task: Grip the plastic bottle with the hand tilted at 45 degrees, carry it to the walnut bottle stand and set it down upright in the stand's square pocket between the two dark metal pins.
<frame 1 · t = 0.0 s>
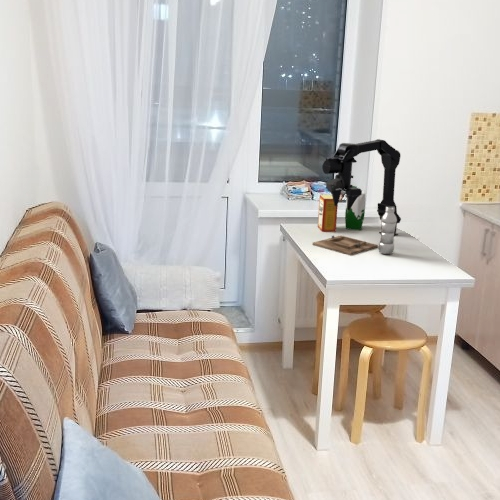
hand: (342, 208, 290), 15 cm above the table, tool pointing down, fingers open, 9 cm apart
walnut bottle stand: (345, 246, 285), on the table
plastic bottle: (385, 254, 276), on the table
baking soda box: (326, 229, 313), on the table
milk carton: (353, 228, 318), on the table
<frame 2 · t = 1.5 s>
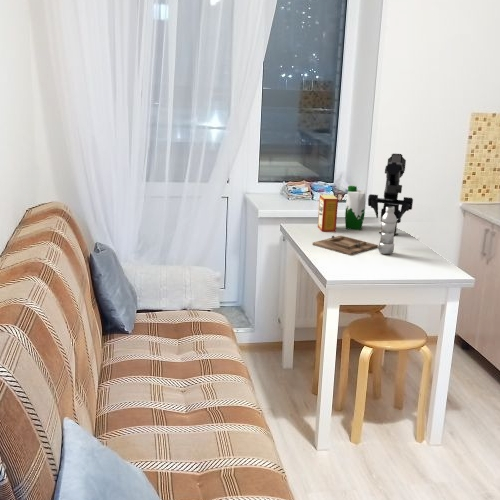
hand: (388, 218, 280), 13 cm above the table, tool tilted 45°, fingers open, 9 cm apart
nothing on the table moved.
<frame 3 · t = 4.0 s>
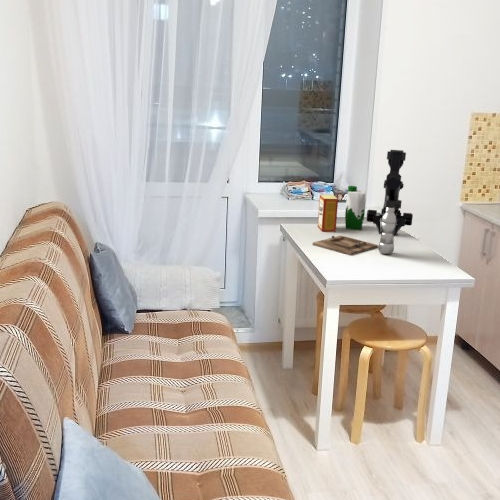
hand: (387, 234, 272), 9 cm above the table, tool tilted 45°, fingers closed on plastic bottle, 6 cm apart
plastic bottle: (385, 254, 276), on the table, touching gripper
everything else where it was.
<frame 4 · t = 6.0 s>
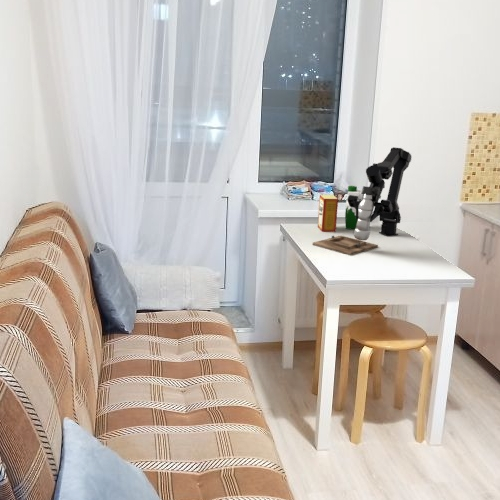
hand: (363, 220, 275), 13 cm above the table, tool tilted 45°, fingers closed on plastic bottle, 6 cm apart
plastic bottle: (360, 240, 280), point 4 cm above the table, touching gripper
everything else where it was.
when the fingers open (10 cm above the table, at t = 7.8 s): plastic bottle stays where it is, resting on walnut bottle stand.
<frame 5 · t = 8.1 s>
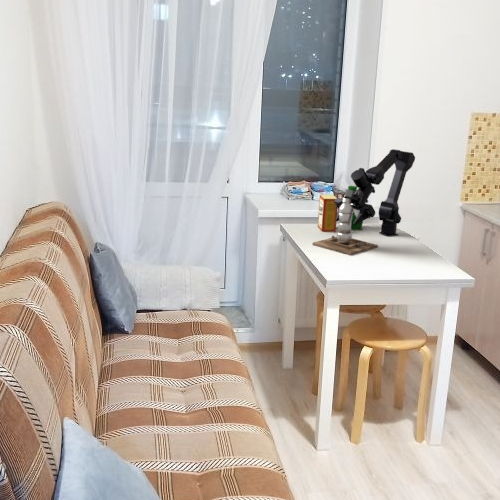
hand: (345, 222, 281), 11 cm above the table, tool tilted 45°, fingers open, 9 cm apart
plastic bottle: (343, 243, 286), point 1 cm above the table, touching walnut bottle stand
everything else where it was.
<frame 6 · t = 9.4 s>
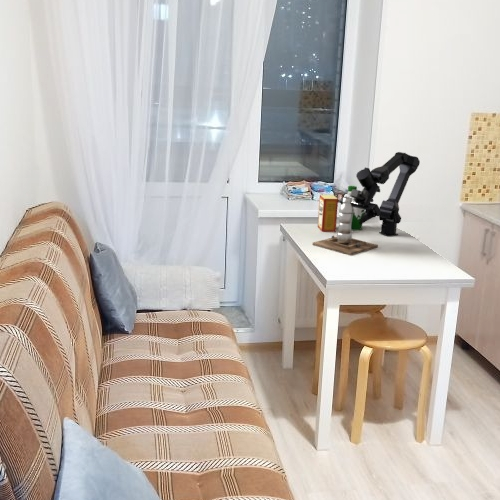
hand: (350, 222, 284), 10 cm above the table, tool tilted 45°, fingers open, 9 cm apart
nothing on the table moved.
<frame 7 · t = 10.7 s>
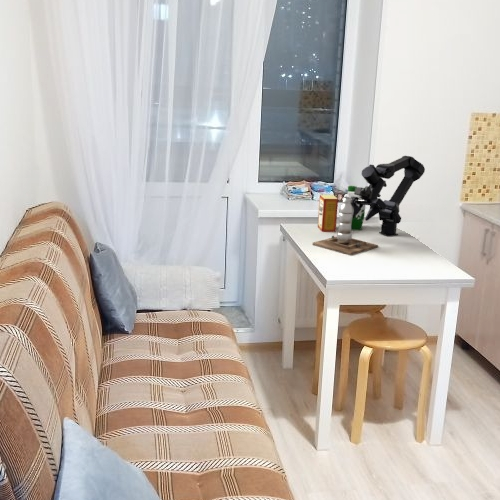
hand: (358, 219, 289), 10 cm above the table, tool tilted 40°, fingers open, 9 cm apart
nothing on the table moved.
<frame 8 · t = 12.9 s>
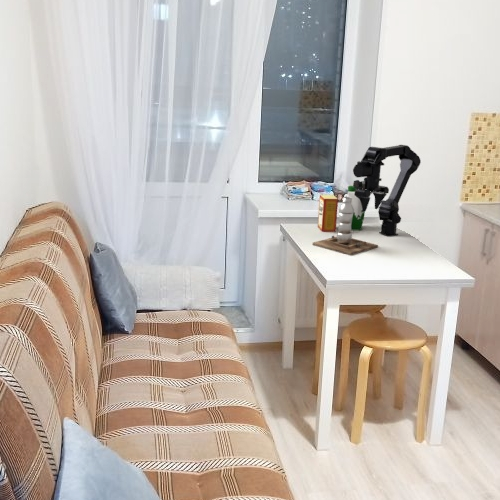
hand: (370, 210, 296), 13 cm above the table, tool pointing down, fingers open, 9 cm apart
nothing on the table moved.
at the end: plastic bottle 1.1 cm off-centre on the walnut bottle stand, point 0.8 cm above the walnut bottle stand's base; plastic bottle tilted 0°; the gripper is holding nothing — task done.
